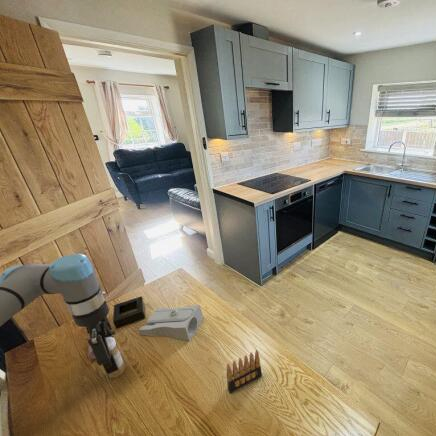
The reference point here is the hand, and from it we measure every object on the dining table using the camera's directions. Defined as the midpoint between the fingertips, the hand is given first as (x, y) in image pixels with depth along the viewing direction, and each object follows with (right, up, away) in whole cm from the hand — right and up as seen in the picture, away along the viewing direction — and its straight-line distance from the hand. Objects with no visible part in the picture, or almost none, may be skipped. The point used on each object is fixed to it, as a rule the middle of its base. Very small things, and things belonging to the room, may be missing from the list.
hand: (113, 361), depth 75 cm
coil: (-14, 0, +12) cm, 19 cm away
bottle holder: (-10, +5, +23) cm, 26 cm away
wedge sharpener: (+10, +3, +19) cm, 21 cm away
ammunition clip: (+42, -7, 0) cm, 43 cm away
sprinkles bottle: (0, -5, +2) cm, 5 cm away
